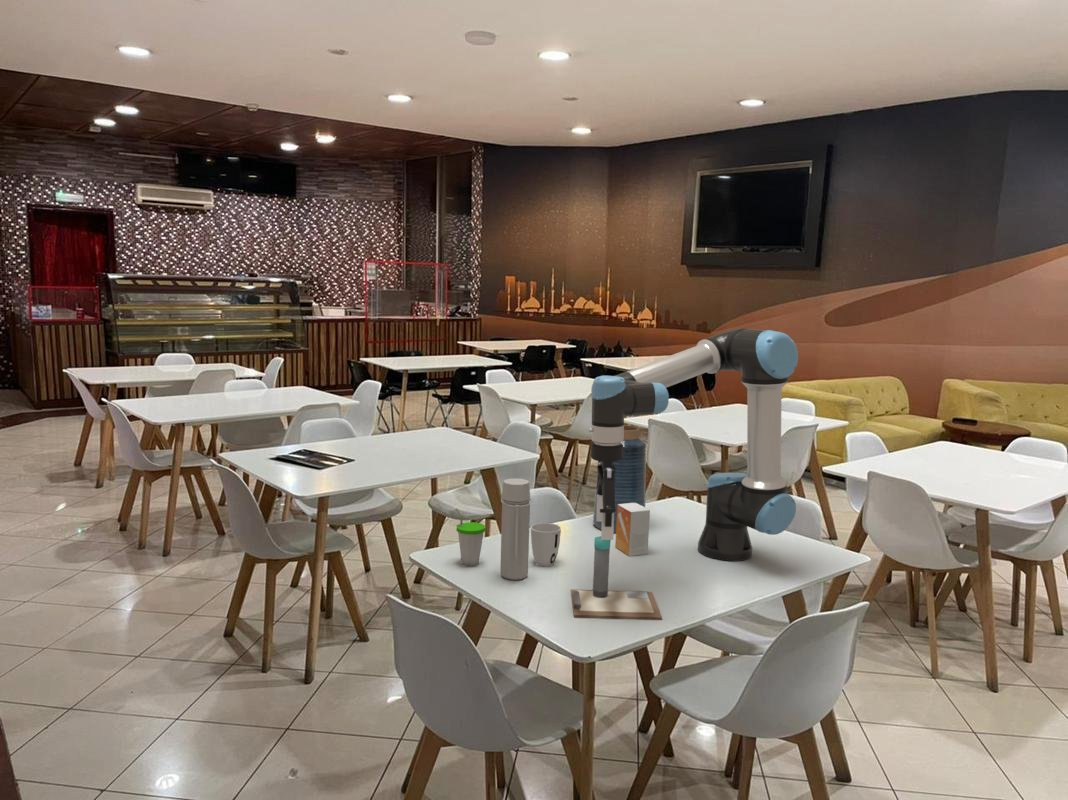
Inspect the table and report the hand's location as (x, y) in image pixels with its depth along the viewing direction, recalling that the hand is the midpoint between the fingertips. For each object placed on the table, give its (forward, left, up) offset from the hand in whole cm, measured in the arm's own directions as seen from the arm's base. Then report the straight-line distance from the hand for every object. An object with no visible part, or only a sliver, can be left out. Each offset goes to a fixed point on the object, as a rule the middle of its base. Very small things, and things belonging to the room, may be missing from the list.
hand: (604, 529), depth 185 cm
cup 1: (+33, -21, -17) cm, 43 cm away
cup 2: (+13, -23, -17) cm, 32 cm away
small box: (-12, -35, -17) cm, 41 cm away
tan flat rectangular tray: (-3, +4, -17) cm, 18 cm away
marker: (0, 0, -16) cm, 16 cm away
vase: (-11, -58, -17) cm, 61 cm away
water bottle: (+21, -12, -17) cm, 30 cm away
